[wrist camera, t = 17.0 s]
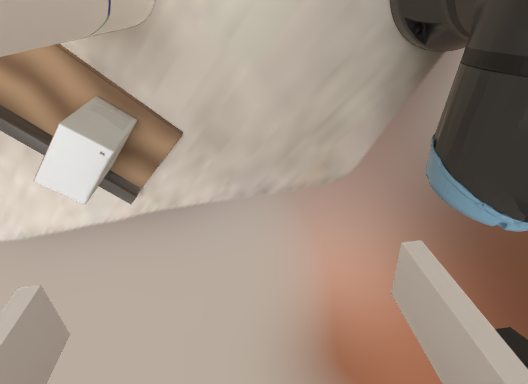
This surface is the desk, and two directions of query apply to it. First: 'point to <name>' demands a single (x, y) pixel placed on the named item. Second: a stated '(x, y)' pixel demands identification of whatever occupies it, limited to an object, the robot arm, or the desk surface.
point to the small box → (84, 149)
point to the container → (64, 21)
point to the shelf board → (71, 99)
